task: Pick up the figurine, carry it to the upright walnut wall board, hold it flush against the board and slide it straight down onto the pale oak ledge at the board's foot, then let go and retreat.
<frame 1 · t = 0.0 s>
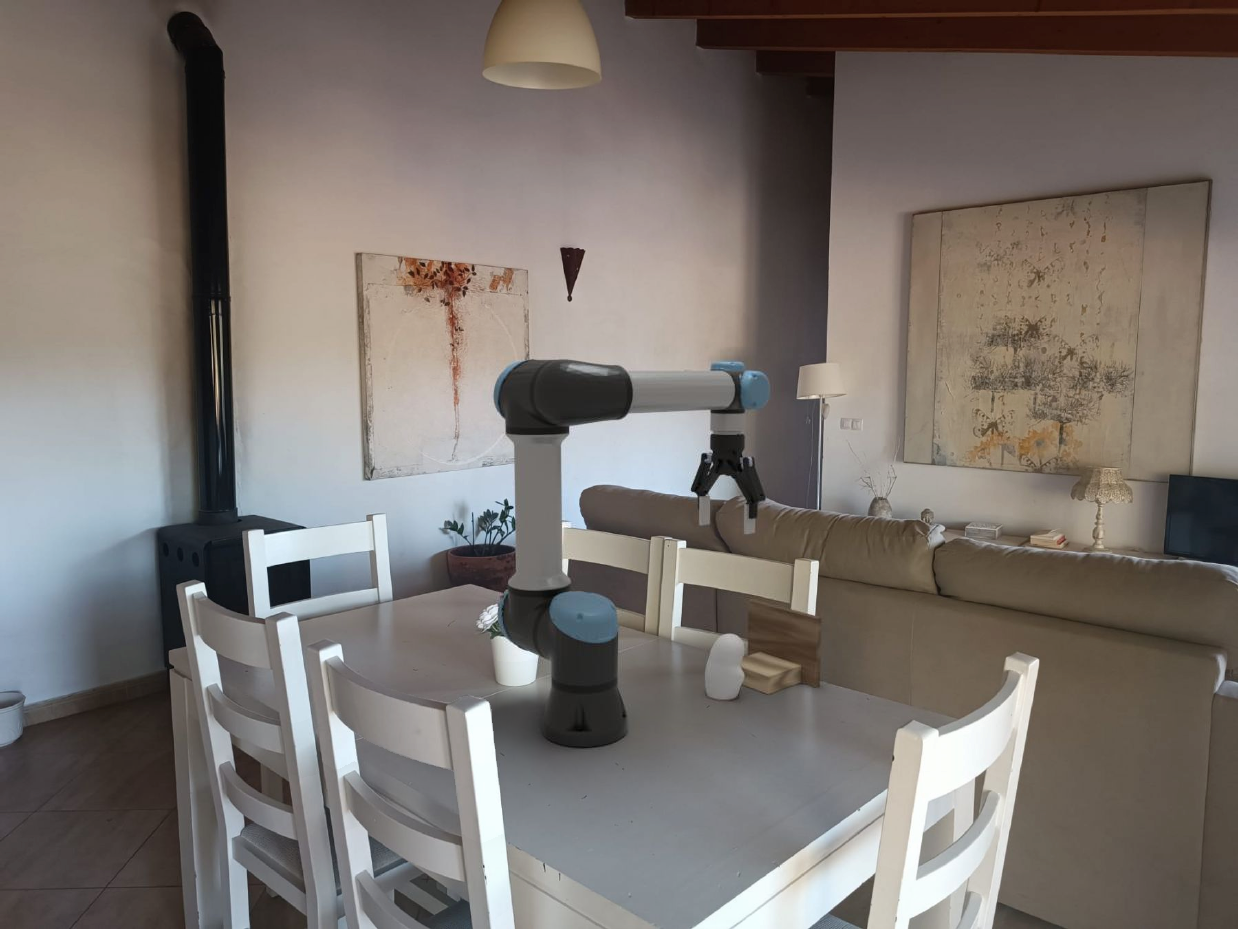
hand: (726, 529, 189), 28 cm above the table, fingers open, 13 cm apart
figurine: (724, 695, 168), on the table
wall board: (782, 674, 178), on the table
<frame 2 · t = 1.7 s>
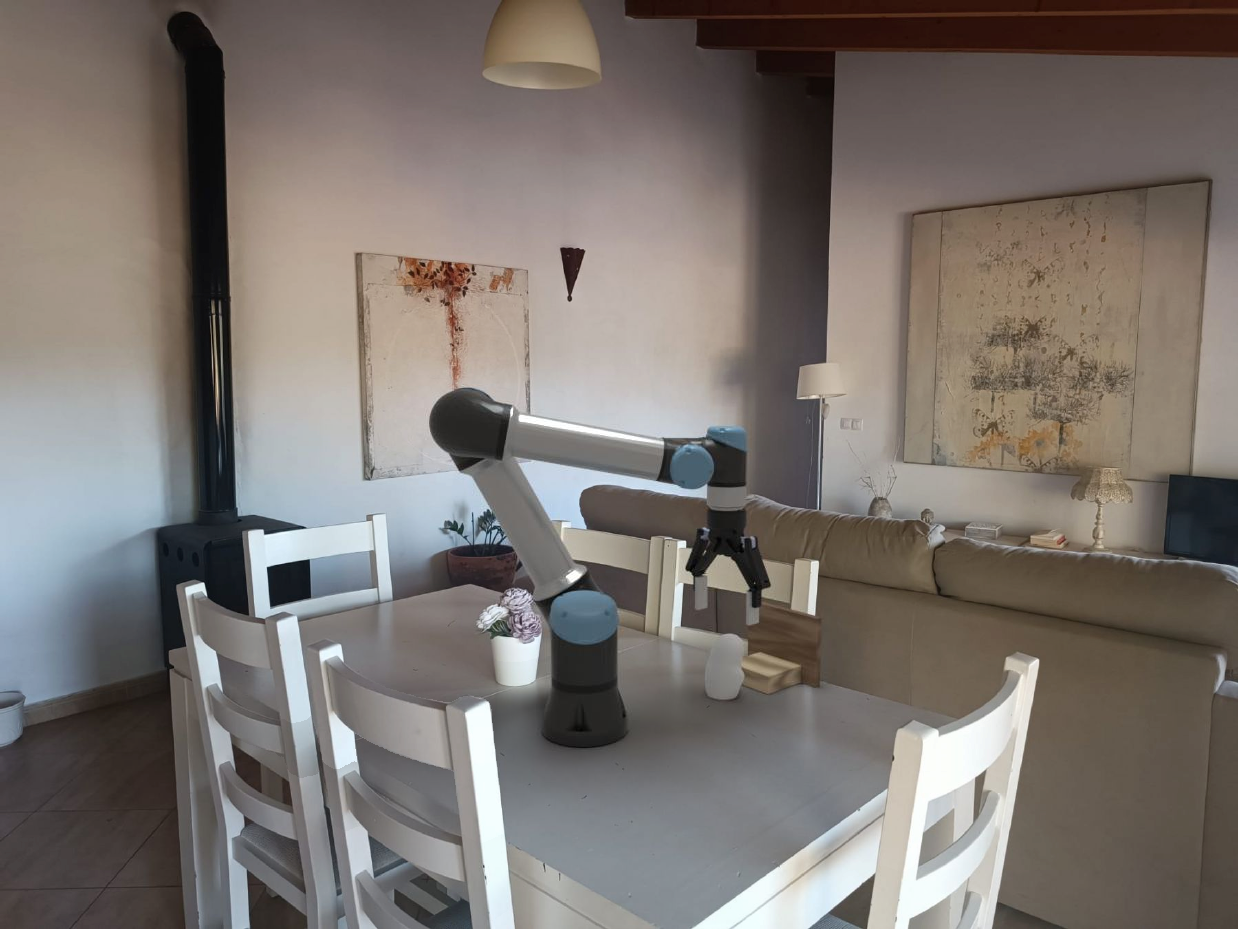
hand: (726, 616, 166), 16 cm above the table, fingers open, 13 cm apart
nothing on the table moved.
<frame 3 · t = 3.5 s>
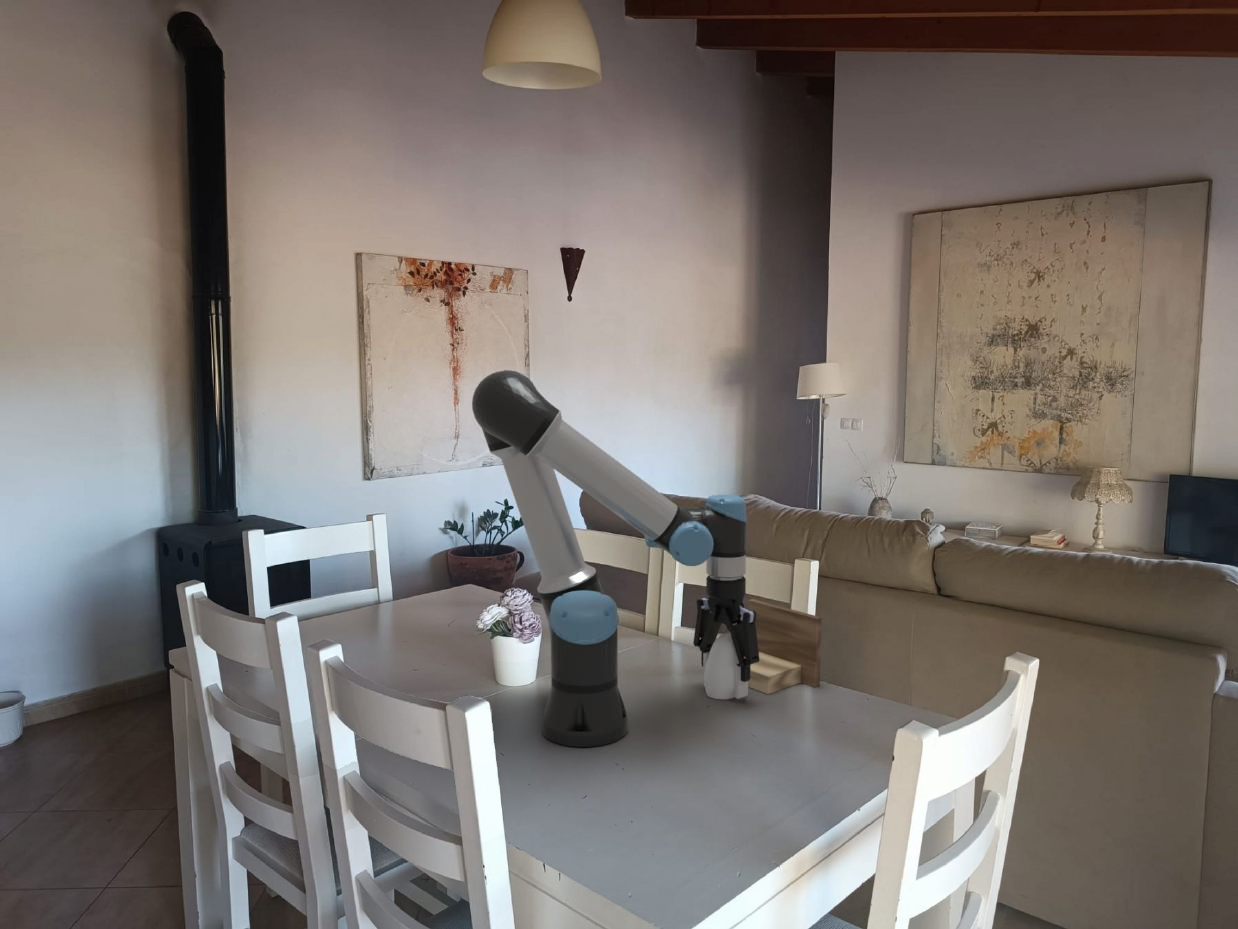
hand: (725, 690, 167), 1 cm above the table, fingers closed on figurine, 8 cm apart
figurine: (723, 694, 168), on the table, touching gripper
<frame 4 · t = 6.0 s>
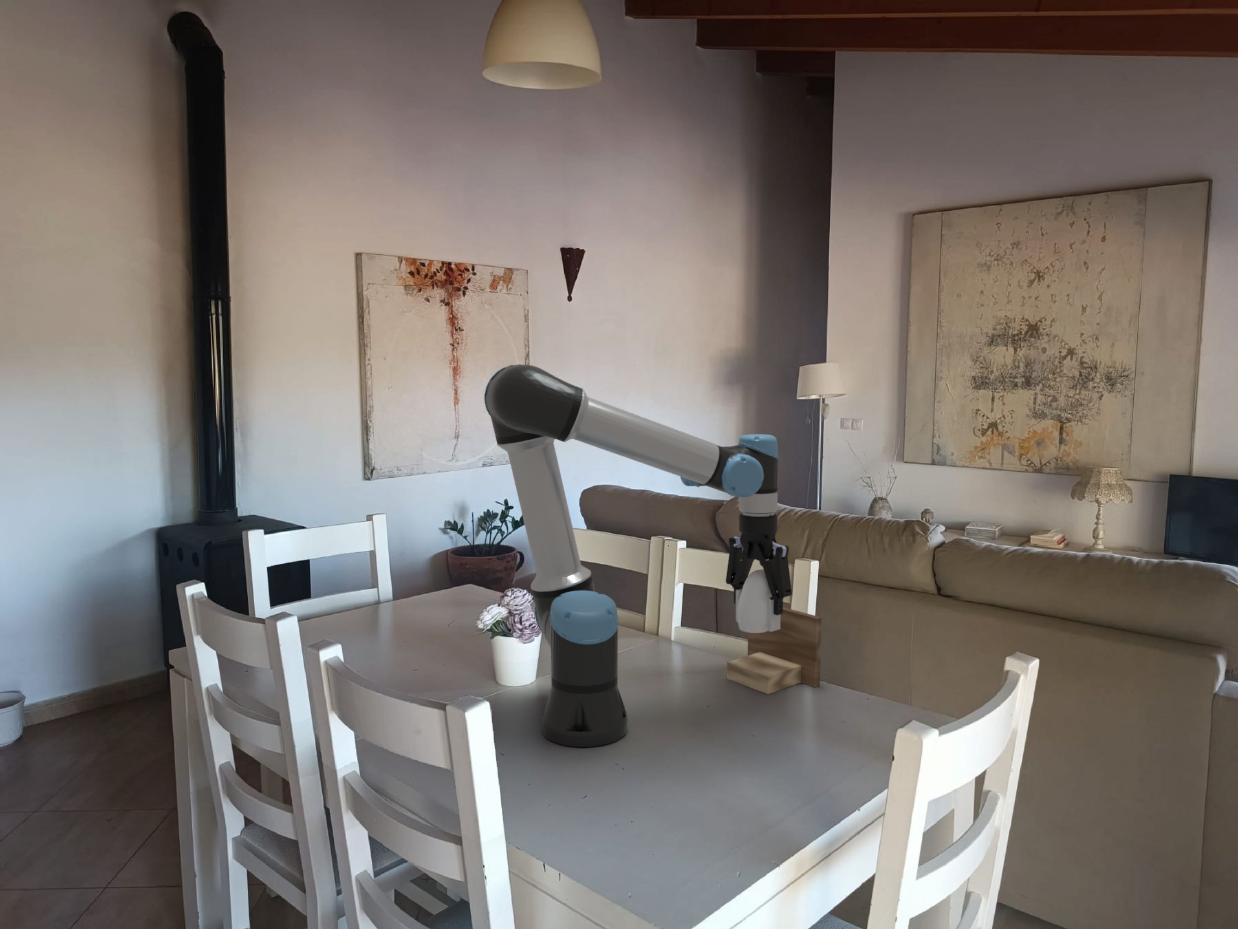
hand: (757, 625, 172), 12 cm above the table, fingers closed on figurine, 8 cm apart
figurine: (756, 629, 172), point 11 cm above the table, touching gripper
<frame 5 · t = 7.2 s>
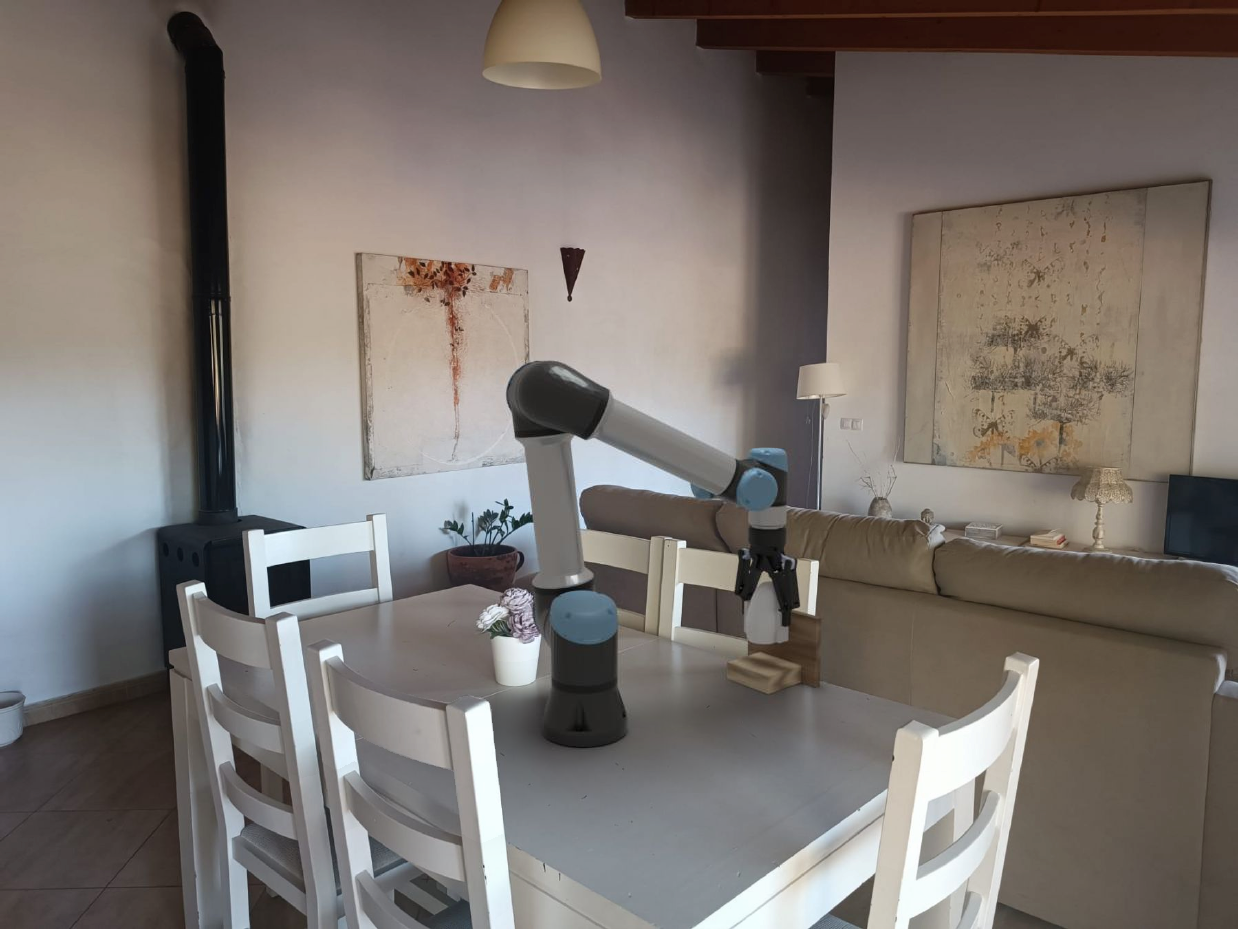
hand: (765, 636, 174), 9 cm above the table, fingers closed on figurine, 8 cm apart
figurine: (764, 640, 174), point 8 cm above the table, touching gripper
when the fingers open (5 cm above the table, at t = 8.4 s): figurine stays where it is, resting on wall board.
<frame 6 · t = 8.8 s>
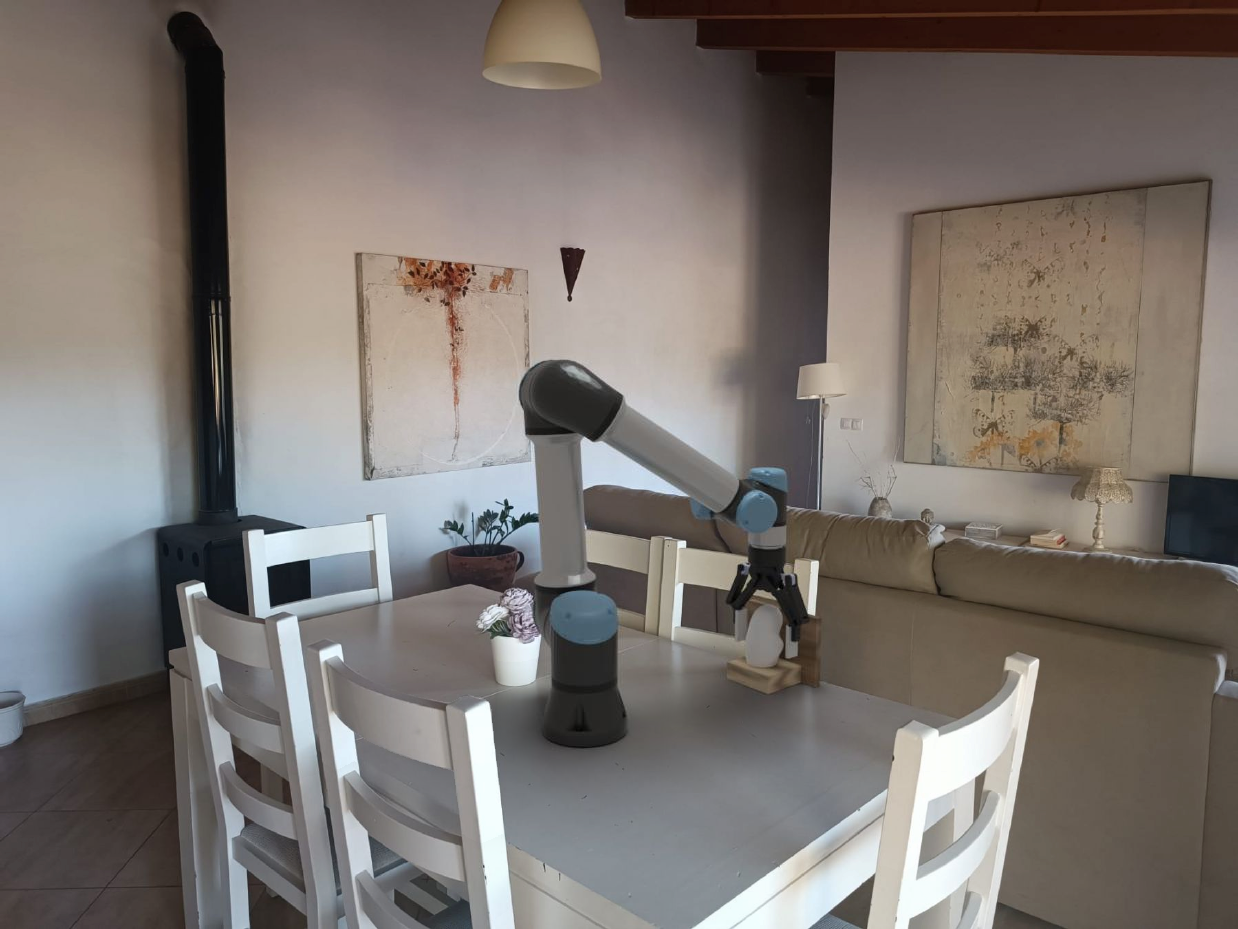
hand: (765, 648, 174), 7 cm above the table, fingers open, 13 cm apart
figurine: (763, 663, 175), point 3 cm above the table, touching wall board
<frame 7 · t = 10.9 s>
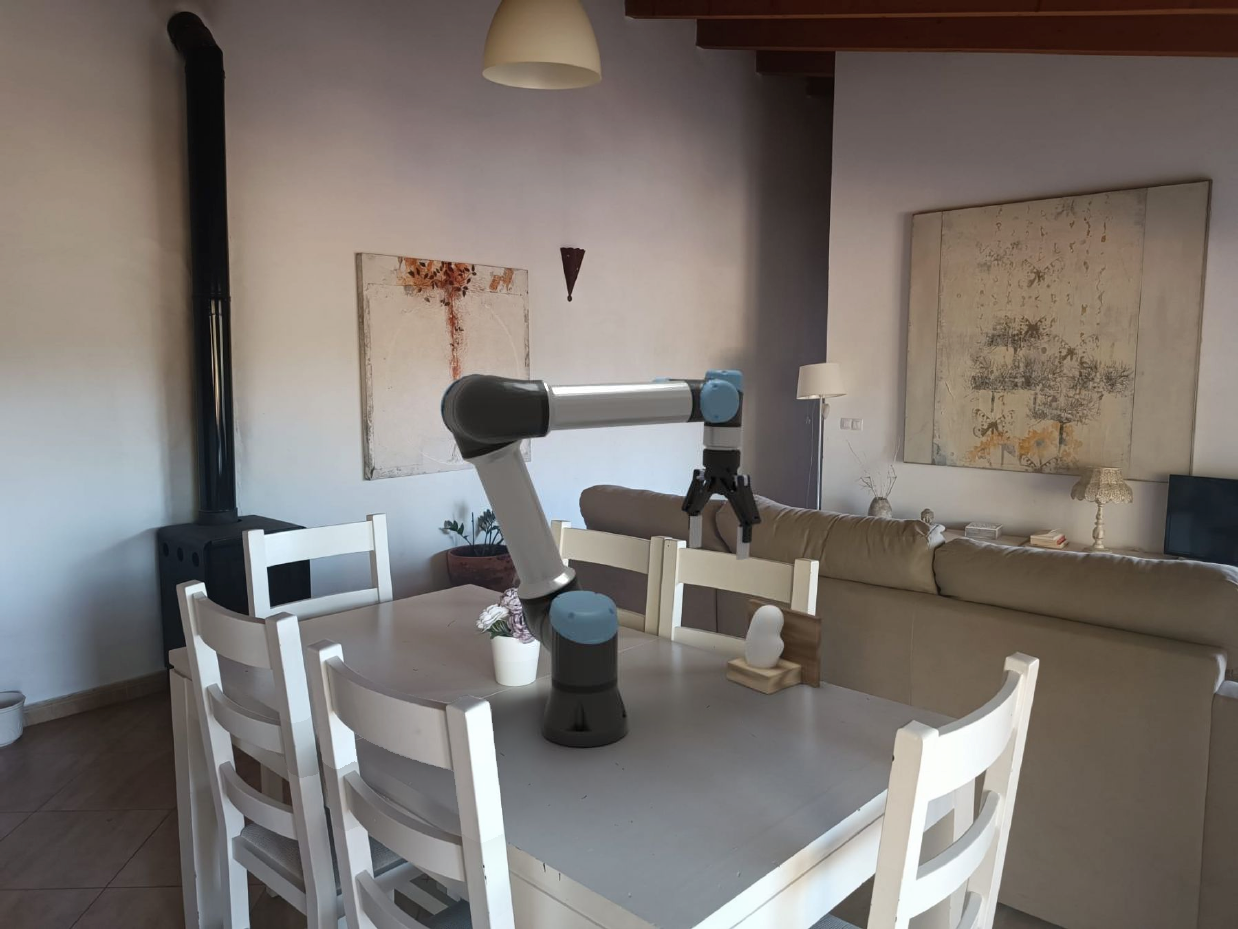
hand: (718, 553, 173), 26 cm above the table, fingers open, 13 cm apart
nothing on the table moved.
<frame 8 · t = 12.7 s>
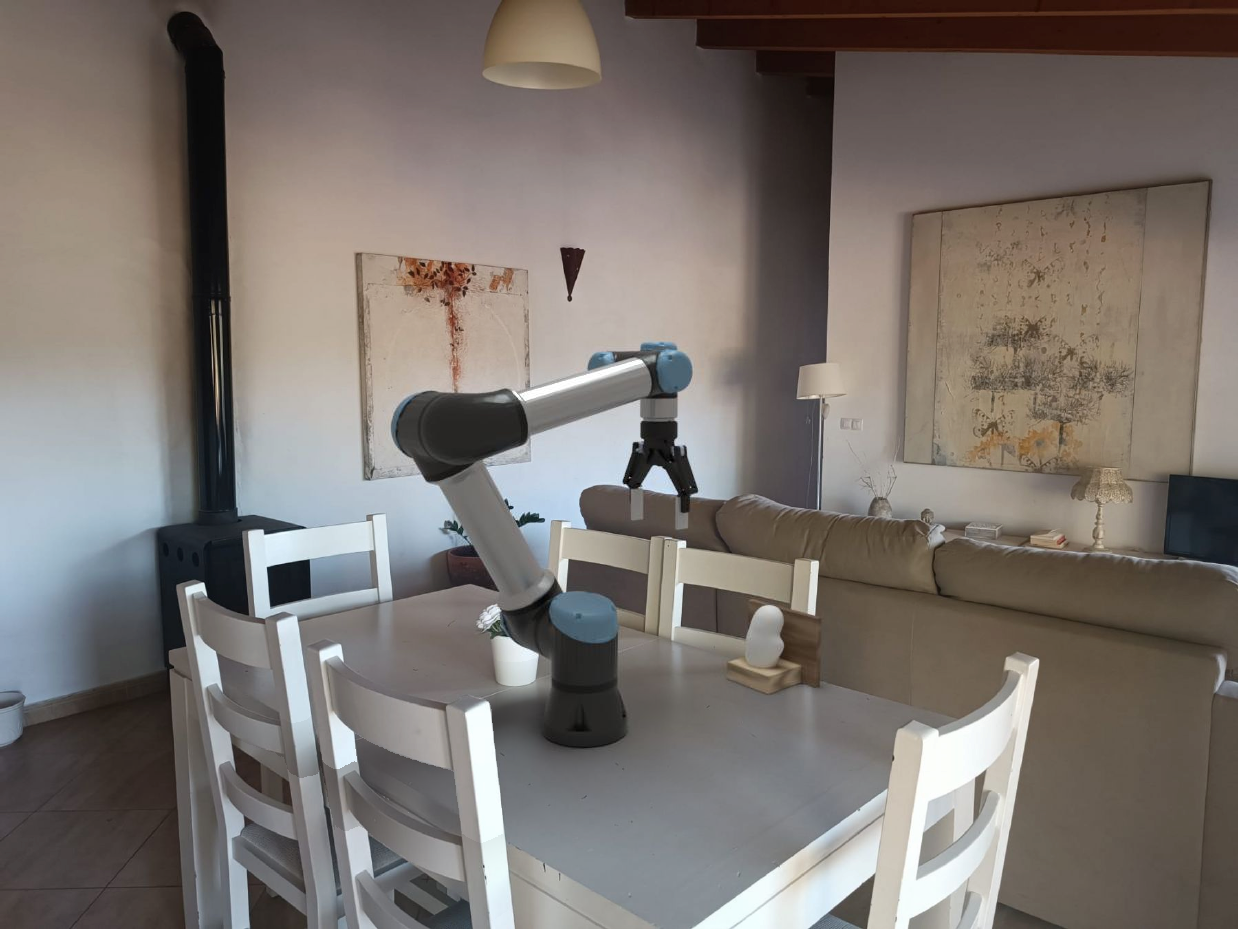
hand: (658, 524, 175), 32 cm above the table, fingers open, 13 cm apart
nothing on the table moved.
at the end: figurine inside the target area (1.0 cm from its centre), point 3.3 cm above the table; figurine tilted 0°; the gripper is holding nothing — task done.
